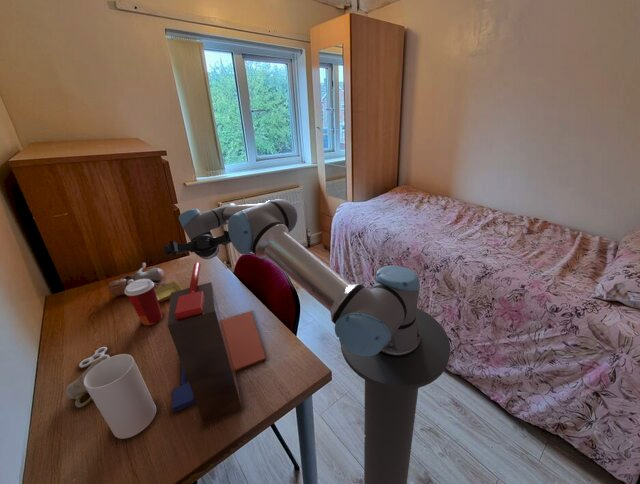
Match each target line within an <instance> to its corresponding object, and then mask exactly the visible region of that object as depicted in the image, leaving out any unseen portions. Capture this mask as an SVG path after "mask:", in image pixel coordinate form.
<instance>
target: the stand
mask: <svg viewBox="0 0 640 484" xmlns="http://www.w3.org/2000/svg"><path fill="white" fill-rule="evenodd" d="M189 288H190V287H188V288H185V289H183V288H182V289H183V290H179V291H175V292H172V293H171V294H170V298H169V307H168V317H167V328H168V331H169V333H170V336H171V338H172V341H173V344H174V346H175V347H174V348H175V350H176V352H177V355H178V358H179V360H180V363H181V367H182V366H183V368H184V371H185V374H186V376H187V383H189V384H190V387H191V390H192V393H193V395H194V398H195V404H196V405H197V408H198V412H199V414H200V417H201V419H202V422H203V425H204V426H206V425H208V424H210V423H211V424H212V423H213V422H216V421H217V420H219V419H222V418H224V417H226V416H229V415H231V414H233V413H235V412H238V411H239V410H242V409H243V405H242V400H241V394H240V389H239V383H238V378H237V373H236V372H237V371H235V368H234V364H233V361H232V357H231V353H230V349H229V346H228V342H227V338H226V334H225V331H224V327H223V323H222V320H223V319H222V316H221V312H220V308H219V305H218V304H219V303H218V301H217V298H216V294H215V289H214V286H213V283H212V282H207V283H206V282H205V283H202V284H199V285H197V291H196V292H201V291H203V293H204V304H203V313H201V314H197V315H193V316H189V317H185V318H181V319H176V316H175V310H176V306H177V302H178V298H179V296H182V295H187V294H188V293H189Z"/></svg>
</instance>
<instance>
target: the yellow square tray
mask: <svg viewBox="0 0 640 484" xmlns="http://www.w3.org/2000/svg"><path fill="white" fill-rule="evenodd" d="M166 284H167V286H158V287H157V288H154V289H155V292H156V296H157V299H158V302H161V303H162V302H165V301H167V300H170V294H171V293H172V292H175V291H179V290H183V288H182V286H181V285H180V284H179V283H178V282H177V281H175V280H174V281H171V282H169V283H166Z"/></svg>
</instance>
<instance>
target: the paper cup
mask: <svg viewBox="0 0 640 484" xmlns="http://www.w3.org/2000/svg"><path fill="white" fill-rule="evenodd" d="M154 283H155V282H153V280H150V279H140V280H136V281H134V282H132V283H130V284H129V285H128V286H127V287H126V289H125V292H124V293H125V294H124V295H125V296H127V297H128V300H129V301H130V303H131V305H132V307H133V309H134V310H135V312H136V315H137V316H138V318H139V320H140V321H141V324H142V325H144V326H151V325H155V324H156V323H158V322H160V321H161V319H162V318H163V315H162V311H161V306H160V303H159V301H158V299H157V296H156V292H155V289H156V288H155V286H154Z"/></svg>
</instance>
